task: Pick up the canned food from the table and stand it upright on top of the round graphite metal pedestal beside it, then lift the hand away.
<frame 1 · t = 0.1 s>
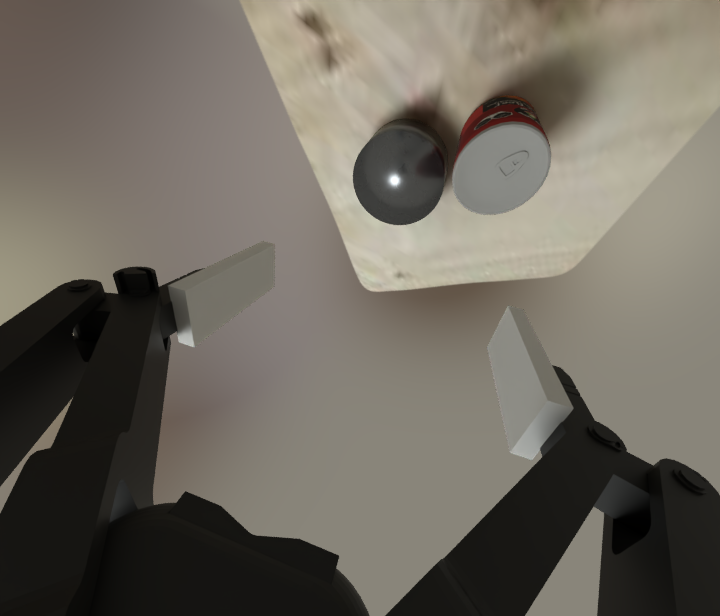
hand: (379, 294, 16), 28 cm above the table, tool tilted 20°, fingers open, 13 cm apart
pedestal: (404, 167, 37), on the table
canned food: (495, 135, 32), on the table
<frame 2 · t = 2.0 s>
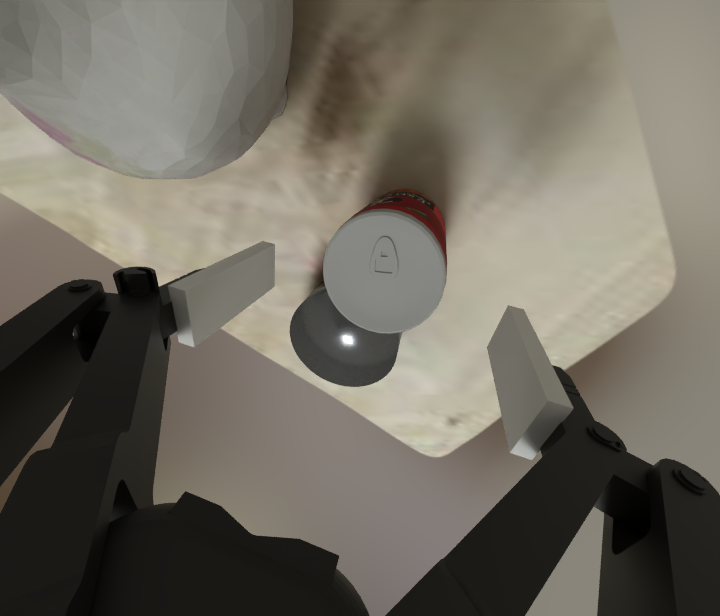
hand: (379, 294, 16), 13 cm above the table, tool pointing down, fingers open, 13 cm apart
pedestal: (354, 318, 32), on the table
canned food: (403, 233, 27), on the table
ceramic pitcher: (210, 35, 23), on the table
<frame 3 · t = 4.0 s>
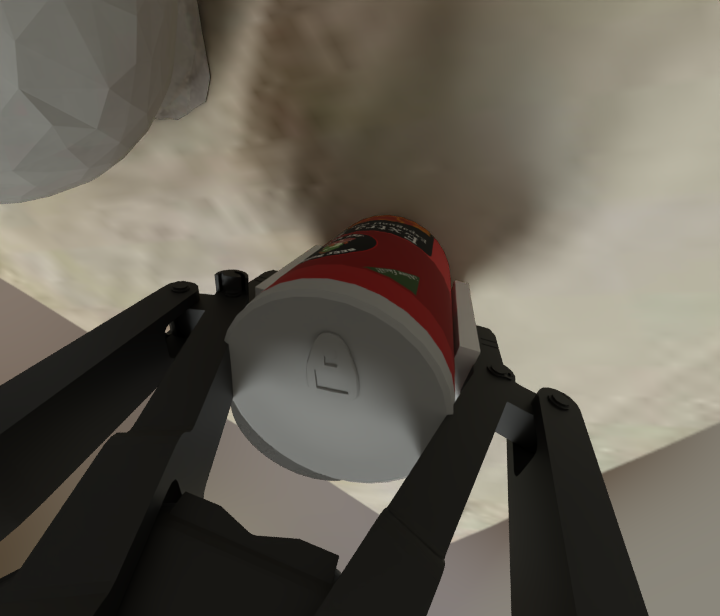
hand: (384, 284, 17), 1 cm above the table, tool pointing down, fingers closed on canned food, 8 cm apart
pedestal: (326, 380, 24), on the table
canned food: (388, 275, 18), on the table, touching gripper
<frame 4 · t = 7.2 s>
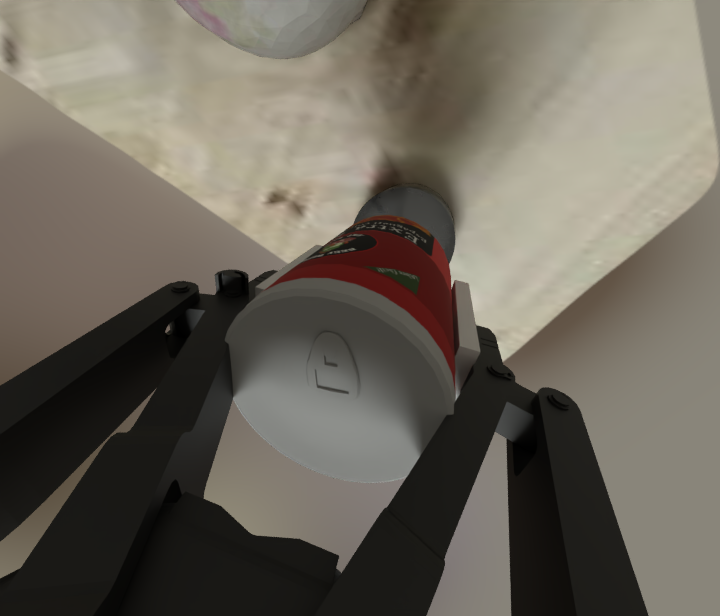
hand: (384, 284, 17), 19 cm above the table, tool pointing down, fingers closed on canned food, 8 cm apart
pedestal: (406, 232, 34), on the table
canned food: (388, 275, 18), point 18 cm above the table, touching gripper
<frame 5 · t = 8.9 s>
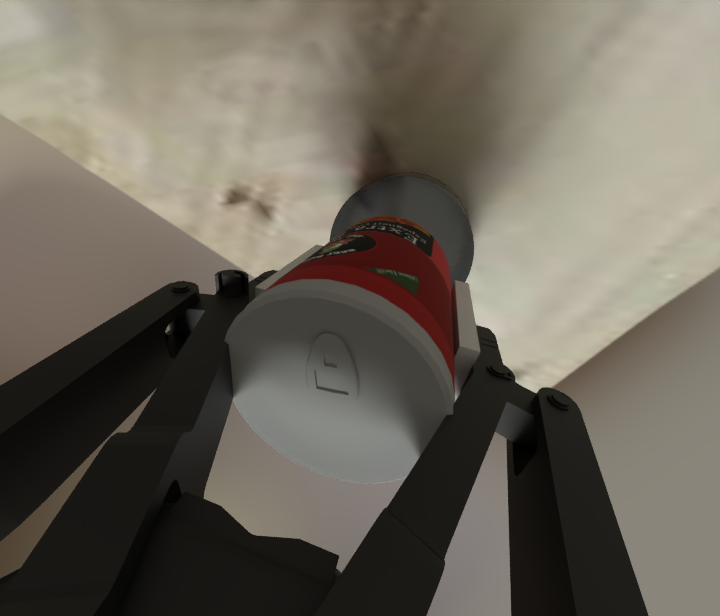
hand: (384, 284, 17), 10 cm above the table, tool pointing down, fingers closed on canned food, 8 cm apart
pedestal: (404, 239, 26), on the table
canned food: (388, 276, 18), point 9 cm above the table, touching gripper
when the fingers open (8 cm above the table, at t = 10.3 s): canned food drops 1 cm, resting on pedestal.
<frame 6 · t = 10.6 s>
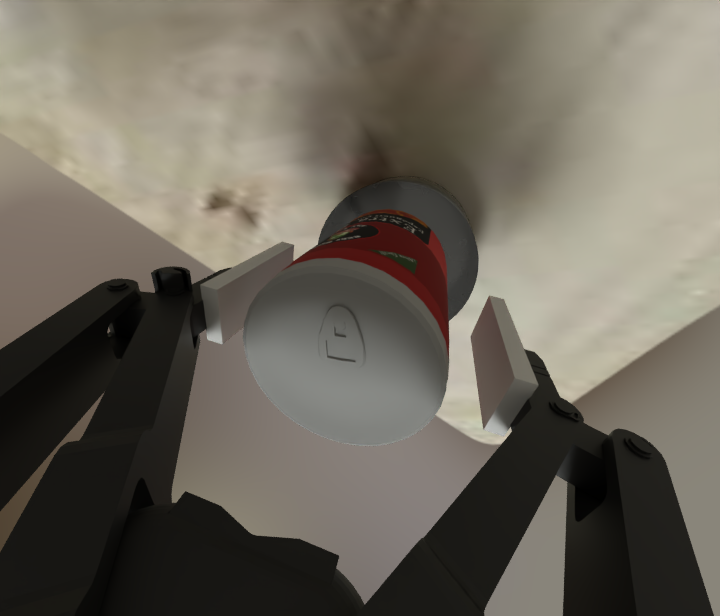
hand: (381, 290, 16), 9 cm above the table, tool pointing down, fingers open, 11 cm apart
pedestal: (401, 248, 24), on the table
canned food: (389, 266, 20), point 5 cm above the table, touching pedestal
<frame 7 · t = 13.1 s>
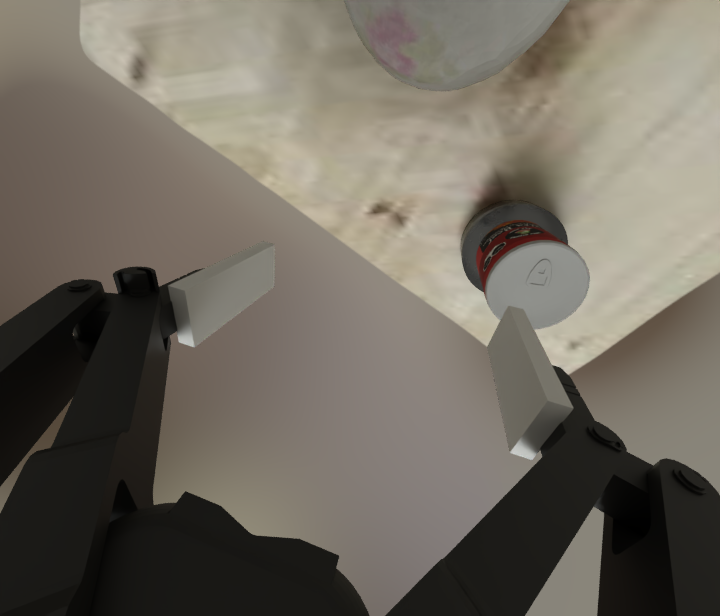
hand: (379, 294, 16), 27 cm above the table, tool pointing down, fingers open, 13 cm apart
pedestal: (504, 244, 37), on the table
canned food: (510, 253, 33), point 5 cm above the table, touching pedestal
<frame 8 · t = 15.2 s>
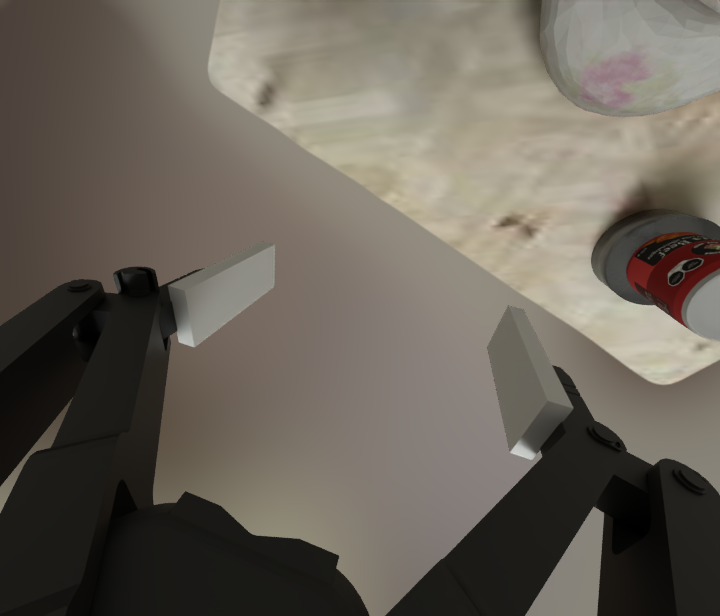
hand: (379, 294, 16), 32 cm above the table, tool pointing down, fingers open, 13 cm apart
pedestal: (640, 252, 38), on the table
canned food: (662, 262, 34), point 5 cm above the table, touching pedestal
ceramic pitcher: (610, 13, 30), on the table
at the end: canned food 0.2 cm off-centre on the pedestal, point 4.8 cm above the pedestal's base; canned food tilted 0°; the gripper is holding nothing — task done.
